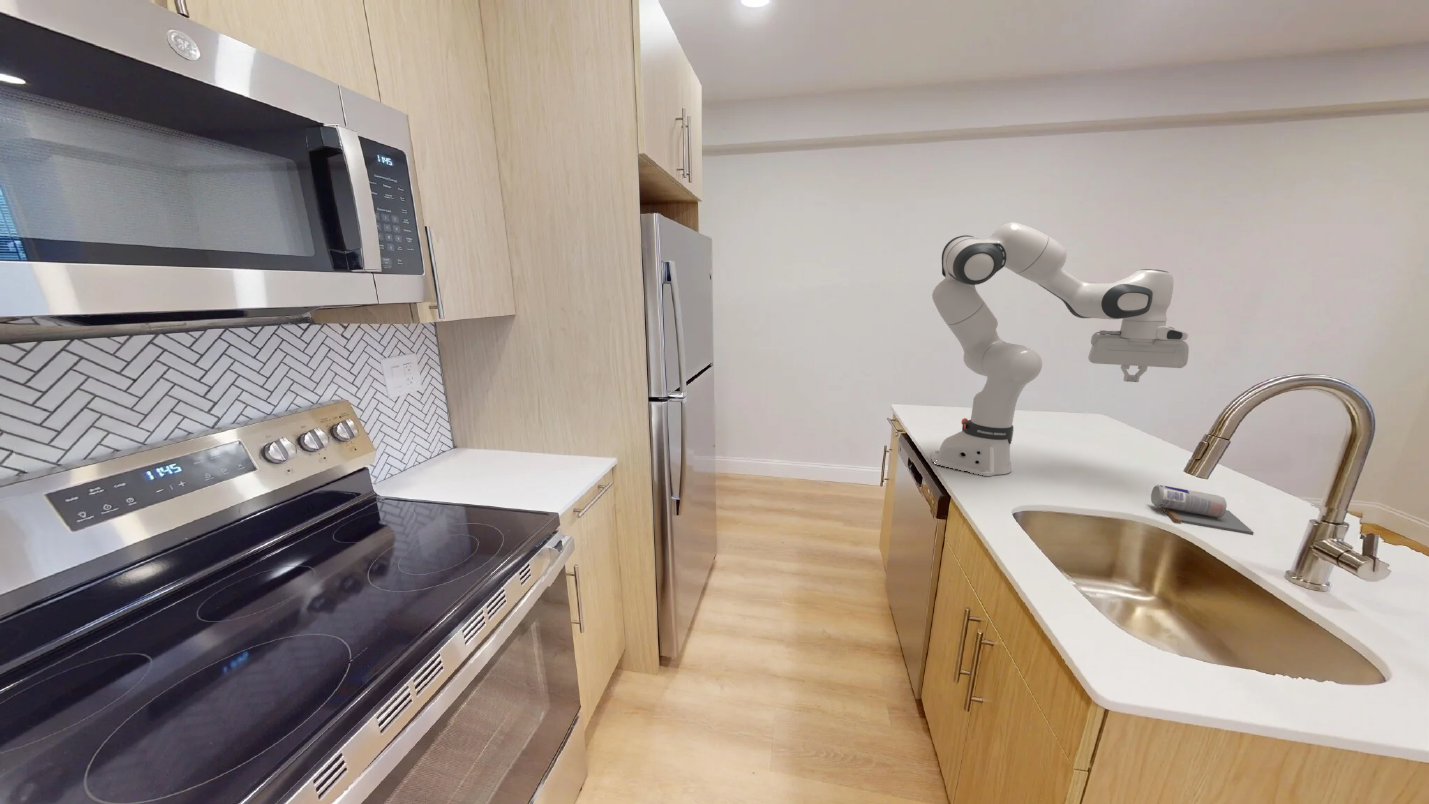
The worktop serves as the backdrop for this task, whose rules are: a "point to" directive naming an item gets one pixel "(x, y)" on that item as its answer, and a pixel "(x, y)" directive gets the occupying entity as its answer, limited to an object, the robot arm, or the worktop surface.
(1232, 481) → the worktop surface
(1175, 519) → the brown thin bar
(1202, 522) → the mat
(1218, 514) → the energy drink
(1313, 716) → the worktop surface
